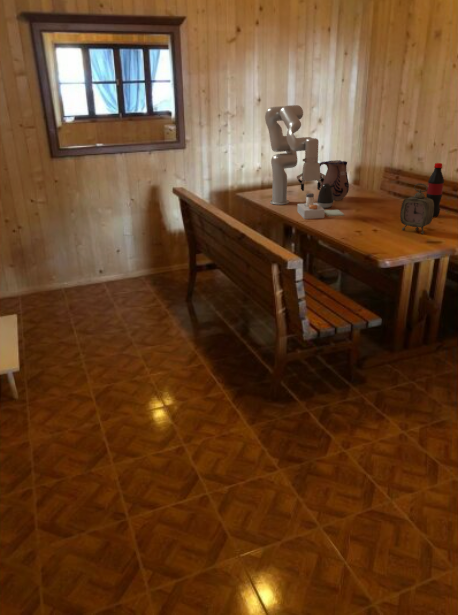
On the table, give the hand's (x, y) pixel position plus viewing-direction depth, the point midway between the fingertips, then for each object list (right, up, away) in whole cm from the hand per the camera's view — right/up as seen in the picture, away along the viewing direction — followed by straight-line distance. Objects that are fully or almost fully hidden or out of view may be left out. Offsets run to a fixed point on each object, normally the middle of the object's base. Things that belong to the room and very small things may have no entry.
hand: (310, 190), depth 302 cm
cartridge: (0, -13, +6) cm, 14 cm away
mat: (+14, -13, +5) cm, 20 cm away
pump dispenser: (+13, -7, +20) cm, 25 cm away
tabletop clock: (+50, -30, -34) cm, 68 cm away
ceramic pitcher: (+21, +3, +41) cm, 46 cm away
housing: (+1, -14, +4) cm, 15 cm away
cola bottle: (+70, -17, -6) cm, 72 cm away
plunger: (+1, -15, -1) cm, 16 cm away
